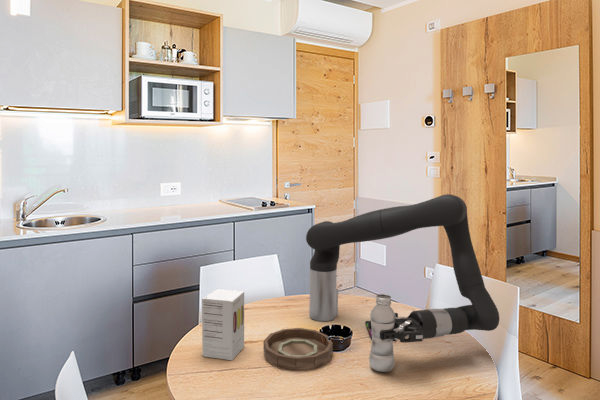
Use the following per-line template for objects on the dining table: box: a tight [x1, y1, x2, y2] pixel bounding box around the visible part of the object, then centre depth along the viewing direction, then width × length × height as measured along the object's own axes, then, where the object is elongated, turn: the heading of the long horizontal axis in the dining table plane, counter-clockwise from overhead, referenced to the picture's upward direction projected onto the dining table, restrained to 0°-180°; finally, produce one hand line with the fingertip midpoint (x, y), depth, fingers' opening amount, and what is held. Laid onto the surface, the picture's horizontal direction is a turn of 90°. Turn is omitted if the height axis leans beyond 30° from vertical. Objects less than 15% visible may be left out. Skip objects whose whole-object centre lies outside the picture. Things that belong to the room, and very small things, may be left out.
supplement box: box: [201, 288, 245, 361], centre depth 122 cm, size 10×9×17 cm
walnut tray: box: [263, 327, 334, 372], centre depth 122 cm, size 19×19×4 cm
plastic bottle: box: [368, 293, 396, 373], centre depth 113 cm, size 6×7×20 cm
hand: (374, 330), depth 112 cm, fingers closed on plastic bottle, 6 cm apart
